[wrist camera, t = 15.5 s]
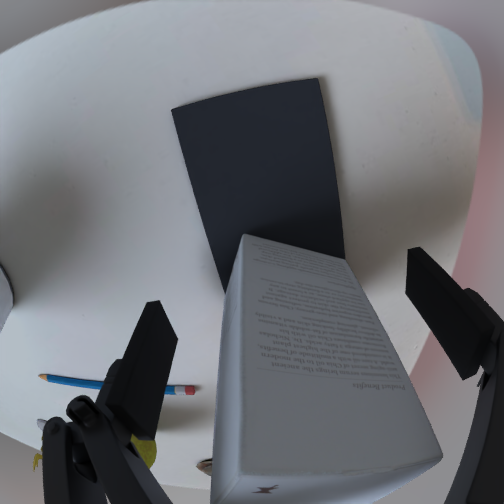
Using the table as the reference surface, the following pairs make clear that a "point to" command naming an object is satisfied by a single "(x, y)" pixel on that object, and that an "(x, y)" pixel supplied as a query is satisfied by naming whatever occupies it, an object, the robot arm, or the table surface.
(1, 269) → the cup
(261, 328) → the cosmetic box
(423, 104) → the table surface
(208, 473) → the decorative disc
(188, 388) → the pencil
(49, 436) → the robot arm
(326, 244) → the mat
